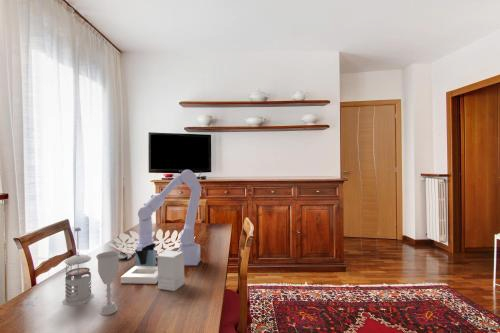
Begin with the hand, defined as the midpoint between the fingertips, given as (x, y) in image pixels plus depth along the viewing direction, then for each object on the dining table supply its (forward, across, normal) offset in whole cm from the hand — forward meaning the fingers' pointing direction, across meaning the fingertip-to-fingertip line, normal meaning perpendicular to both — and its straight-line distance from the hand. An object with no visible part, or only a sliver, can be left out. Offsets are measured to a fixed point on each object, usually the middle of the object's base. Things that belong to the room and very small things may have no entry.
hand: (145, 261), depth 132 cm
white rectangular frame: (+2, +13, +5) cm, 14 cm away
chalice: (+2, +40, +5) cm, 40 cm away
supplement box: (+2, +21, +19) cm, 28 cm away
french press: (+2, +32, -11) cm, 34 cm away
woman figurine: (+2, -14, -14) cm, 20 cm away
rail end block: (+2, 0, 0) cm, 2 cm away
